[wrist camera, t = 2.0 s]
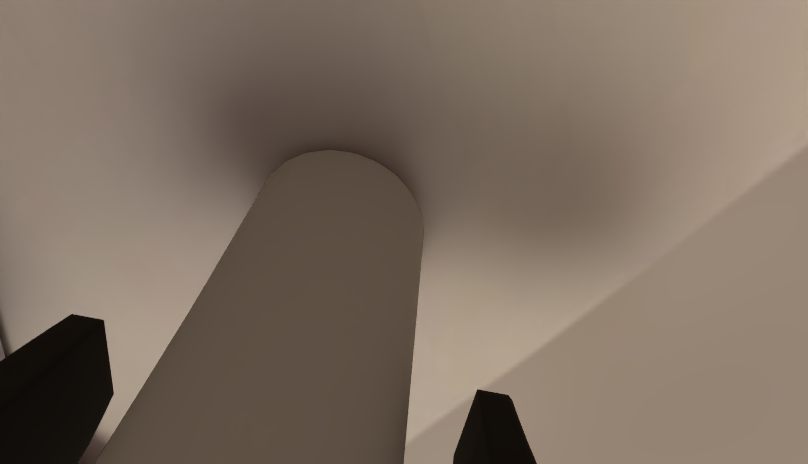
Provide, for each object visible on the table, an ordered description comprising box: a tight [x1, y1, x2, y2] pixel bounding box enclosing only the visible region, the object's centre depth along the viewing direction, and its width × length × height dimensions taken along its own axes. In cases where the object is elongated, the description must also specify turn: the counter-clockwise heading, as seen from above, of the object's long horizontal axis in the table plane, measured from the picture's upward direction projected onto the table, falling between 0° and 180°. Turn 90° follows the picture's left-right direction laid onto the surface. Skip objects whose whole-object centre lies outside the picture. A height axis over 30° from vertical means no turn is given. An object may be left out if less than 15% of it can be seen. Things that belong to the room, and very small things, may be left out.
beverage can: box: [95, 150, 424, 464], centre depth 12 cm, size 5×5×12 cm
